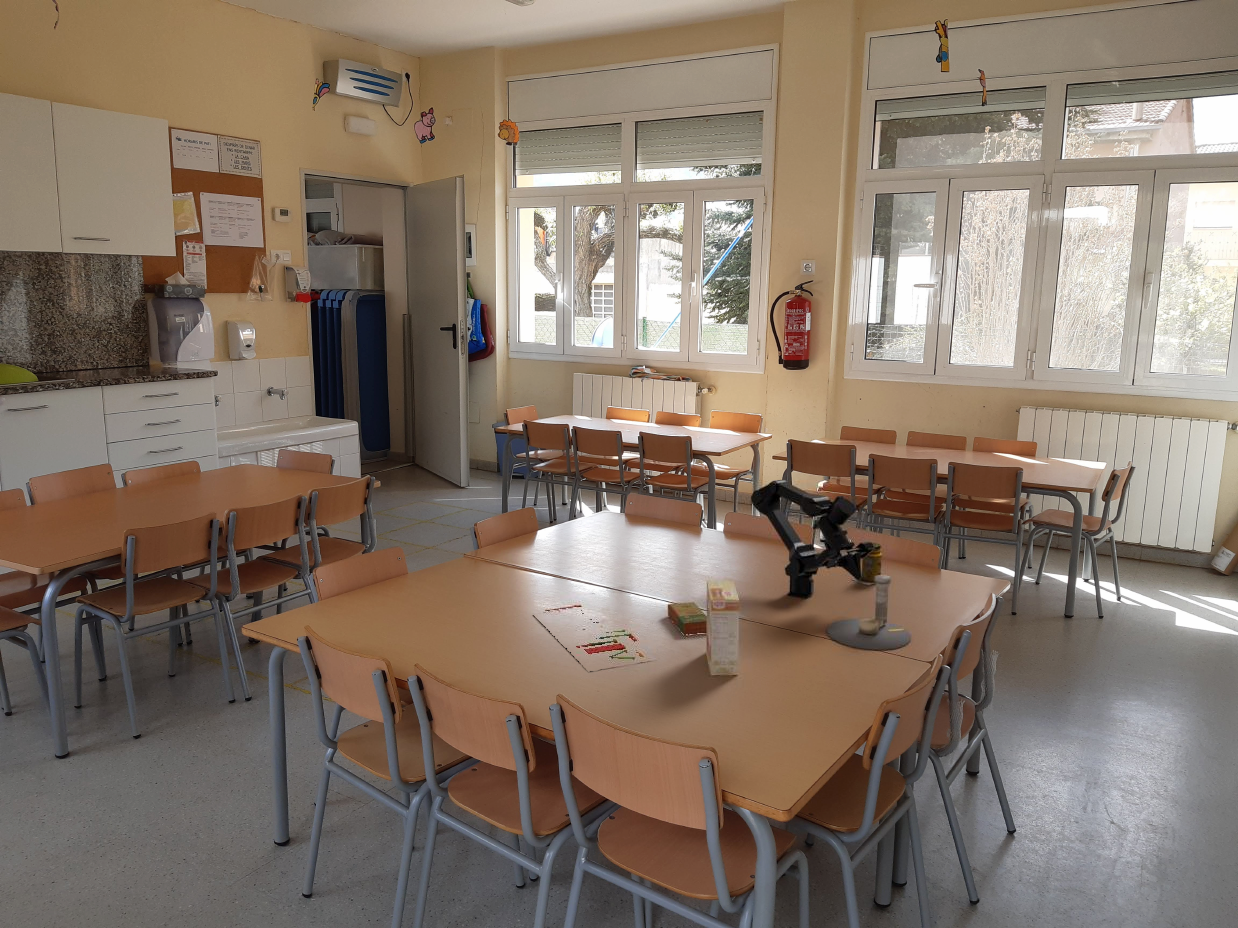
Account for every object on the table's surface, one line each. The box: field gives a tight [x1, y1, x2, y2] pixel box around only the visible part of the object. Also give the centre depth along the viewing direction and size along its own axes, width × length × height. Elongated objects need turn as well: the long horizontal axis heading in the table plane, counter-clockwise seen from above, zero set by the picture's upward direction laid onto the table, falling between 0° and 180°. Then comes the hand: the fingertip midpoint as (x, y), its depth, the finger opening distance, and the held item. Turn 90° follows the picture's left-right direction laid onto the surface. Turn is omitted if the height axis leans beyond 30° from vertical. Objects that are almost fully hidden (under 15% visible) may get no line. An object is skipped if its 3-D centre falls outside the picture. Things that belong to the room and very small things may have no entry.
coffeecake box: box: [705, 579, 740, 676], centre depth 222 cm, size 15×7×20 cm, turn 178°
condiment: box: [852, 542, 883, 586], centre depth 289 cm, size 7×8×12 cm
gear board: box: [544, 604, 644, 660], centre depth 243 cm, size 45×2×19 cm
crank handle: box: [859, 574, 892, 634], centre depth 244 cm, size 13×5×13 cm, turn 140°
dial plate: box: [826, 617, 912, 651], centre depth 242 cm, size 22×22×1 cm
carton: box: [667, 602, 707, 635], centre depth 251 cm, size 8×16×4 cm, turn 13°
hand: (859, 579), depth 254 cm, fingers closed
